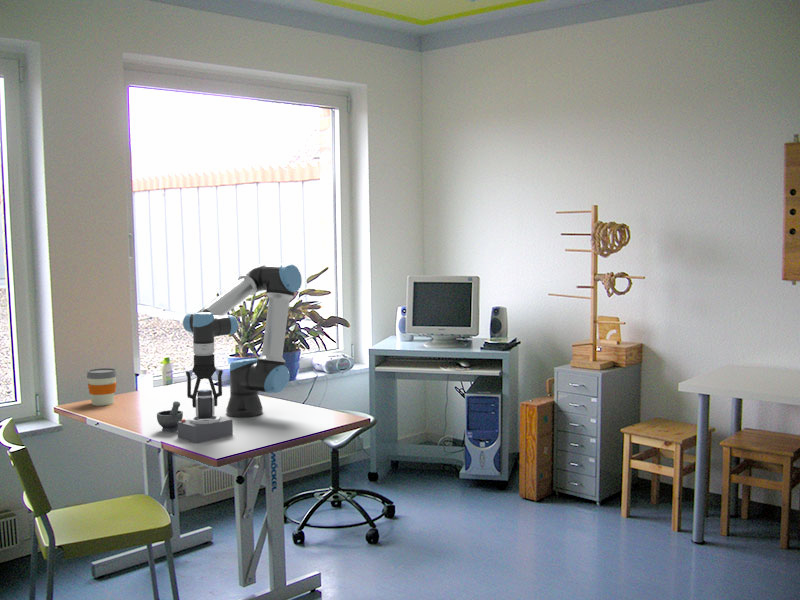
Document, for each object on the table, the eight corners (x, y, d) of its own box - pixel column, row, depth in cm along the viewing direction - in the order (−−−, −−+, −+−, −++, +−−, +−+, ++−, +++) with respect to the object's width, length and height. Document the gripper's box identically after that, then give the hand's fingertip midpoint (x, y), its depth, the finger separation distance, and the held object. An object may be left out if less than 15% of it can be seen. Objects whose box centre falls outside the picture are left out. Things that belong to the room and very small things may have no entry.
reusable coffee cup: (122, 400, 351) (121, 368, 350) (111, 406, 339) (110, 373, 337) (94, 400, 351) (93, 368, 350) (82, 406, 339) (81, 372, 338)
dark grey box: (214, 429, 298) (213, 411, 298) (232, 435, 290) (232, 416, 290) (177, 437, 286) (177, 419, 286) (196, 443, 278) (195, 424, 278)
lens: (197, 416, 289) (196, 389, 289) (212, 415, 291) (211, 388, 290) (198, 419, 284) (197, 392, 284) (213, 418, 286) (212, 391, 285)
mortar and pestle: (152, 430, 297) (152, 399, 296) (174, 426, 304) (173, 396, 303) (168, 435, 289) (167, 404, 288) (189, 430, 296) (189, 400, 295)
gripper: (178, 356, 279) (180, 419, 281) (229, 354, 285) (230, 415, 287) (178, 353, 287) (179, 414, 288) (227, 351, 292) (228, 411, 294)
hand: (205, 415), depth 288 cm, fingers closed on lens, 5 cm apart
